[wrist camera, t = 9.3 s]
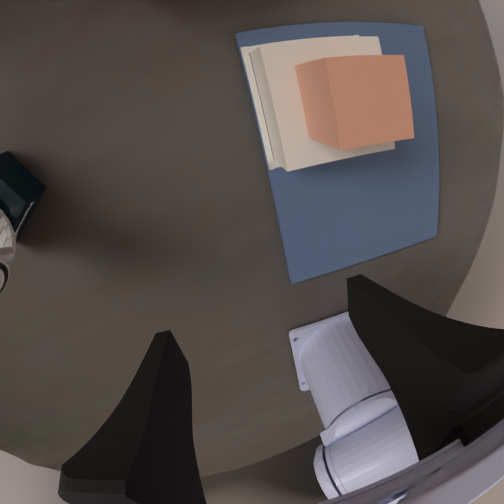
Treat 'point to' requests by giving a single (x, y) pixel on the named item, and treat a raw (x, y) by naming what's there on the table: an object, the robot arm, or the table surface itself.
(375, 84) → the terracotta block
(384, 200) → the blueprint board
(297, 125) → the base block
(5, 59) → the table surface
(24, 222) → the watch
